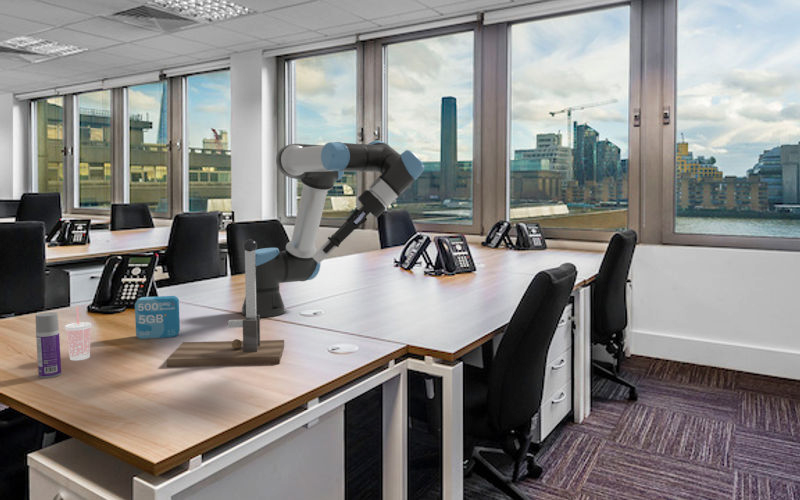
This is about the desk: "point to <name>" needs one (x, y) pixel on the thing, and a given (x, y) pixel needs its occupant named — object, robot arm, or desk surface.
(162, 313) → the data package
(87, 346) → the beverage cup
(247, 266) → the lever
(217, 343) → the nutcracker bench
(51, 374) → the container
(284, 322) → the desk surface
